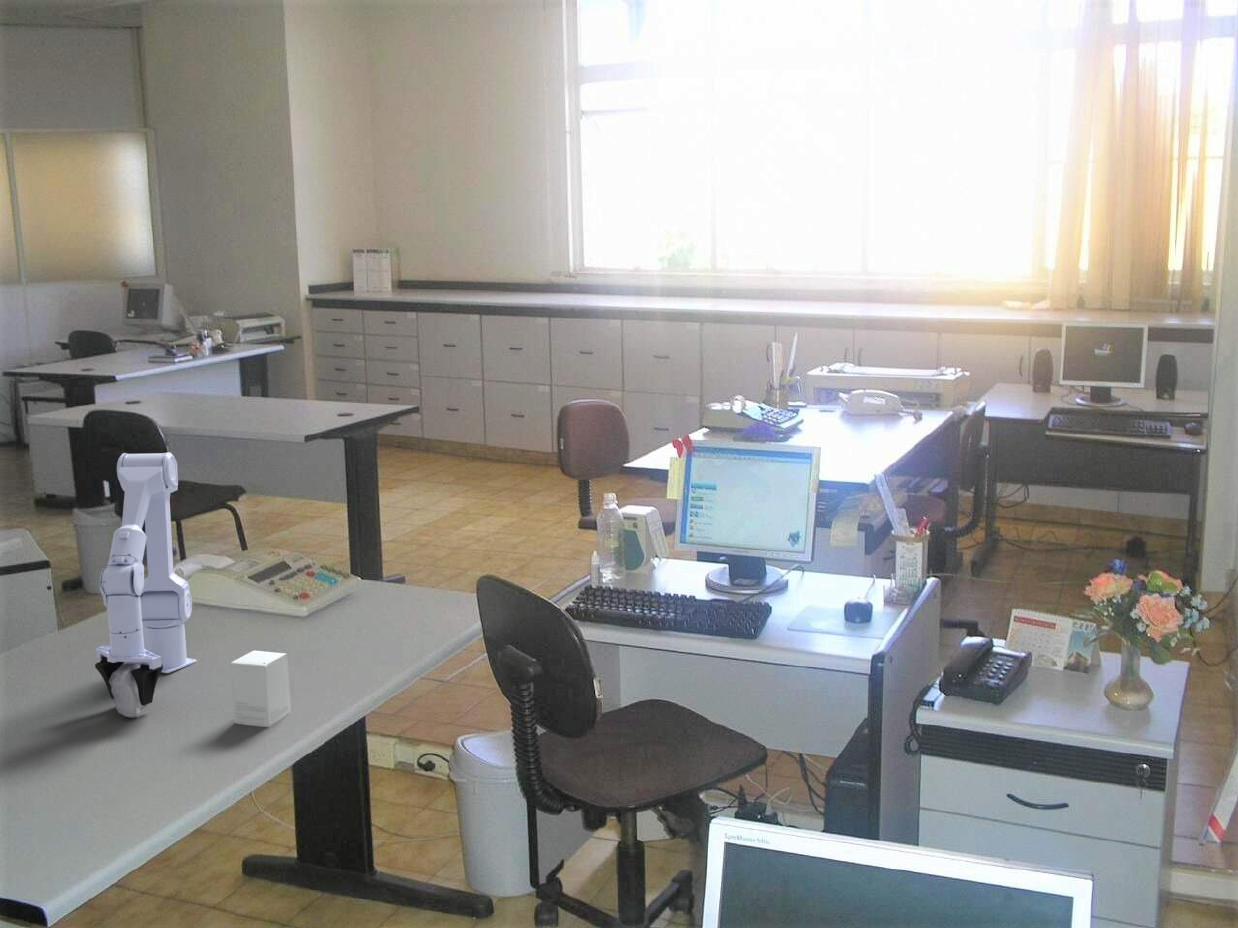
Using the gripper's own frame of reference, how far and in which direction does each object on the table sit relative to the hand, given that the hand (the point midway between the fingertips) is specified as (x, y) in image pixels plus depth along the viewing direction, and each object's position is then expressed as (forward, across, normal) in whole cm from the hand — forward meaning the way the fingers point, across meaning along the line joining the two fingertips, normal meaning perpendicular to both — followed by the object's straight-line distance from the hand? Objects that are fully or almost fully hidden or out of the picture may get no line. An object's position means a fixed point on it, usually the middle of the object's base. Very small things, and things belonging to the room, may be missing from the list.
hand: (131, 700), depth 230 cm
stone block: (+3, 0, 0) cm, 3 cm away
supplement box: (+3, +25, +7) cm, 26 cm away
